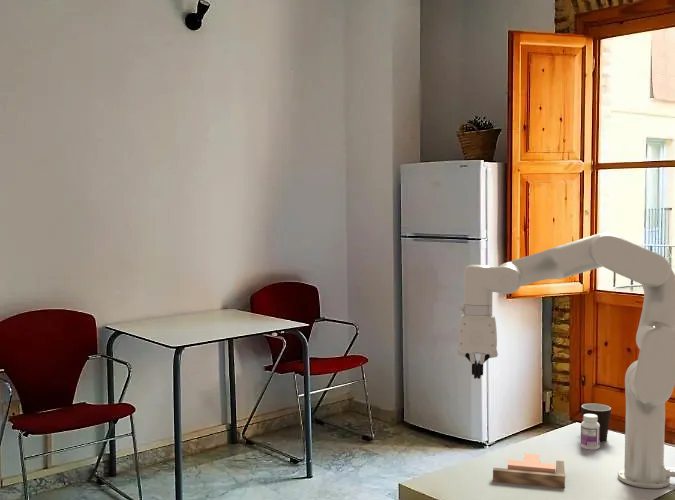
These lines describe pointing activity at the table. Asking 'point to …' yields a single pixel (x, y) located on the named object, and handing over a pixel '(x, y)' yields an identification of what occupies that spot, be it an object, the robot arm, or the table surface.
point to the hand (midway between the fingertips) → (477, 377)
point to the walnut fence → (532, 476)
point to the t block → (531, 464)
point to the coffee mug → (599, 417)
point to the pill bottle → (590, 432)
